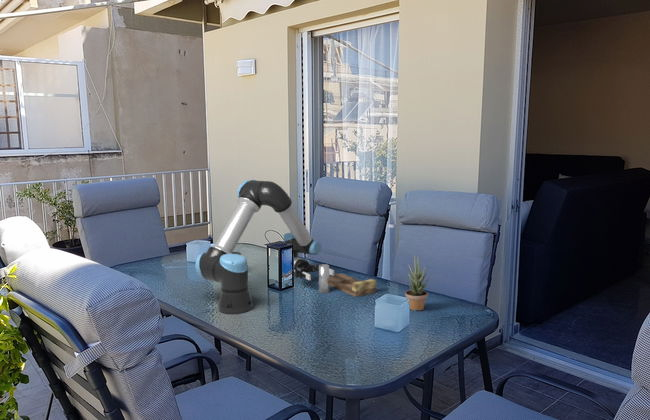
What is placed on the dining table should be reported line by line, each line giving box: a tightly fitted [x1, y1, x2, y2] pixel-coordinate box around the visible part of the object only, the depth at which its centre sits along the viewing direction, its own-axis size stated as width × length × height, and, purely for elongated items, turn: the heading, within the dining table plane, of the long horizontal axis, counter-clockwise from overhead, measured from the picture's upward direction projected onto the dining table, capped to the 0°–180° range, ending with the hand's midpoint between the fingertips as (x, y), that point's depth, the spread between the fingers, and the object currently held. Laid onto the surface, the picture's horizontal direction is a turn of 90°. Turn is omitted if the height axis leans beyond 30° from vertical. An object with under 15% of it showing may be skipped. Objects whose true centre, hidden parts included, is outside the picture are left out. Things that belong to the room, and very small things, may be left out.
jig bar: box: [329, 272, 377, 298], centre depth 258 cm, size 12×30×6 cm, turn 32°
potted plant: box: [404, 254, 430, 311], centre depth 223 cm, size 10×10×25 cm
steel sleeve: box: [318, 263, 330, 294], centre depth 250 cm, size 5×5×13 cm
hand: (322, 275), depth 252 cm, fingers open, 13 cm apart
